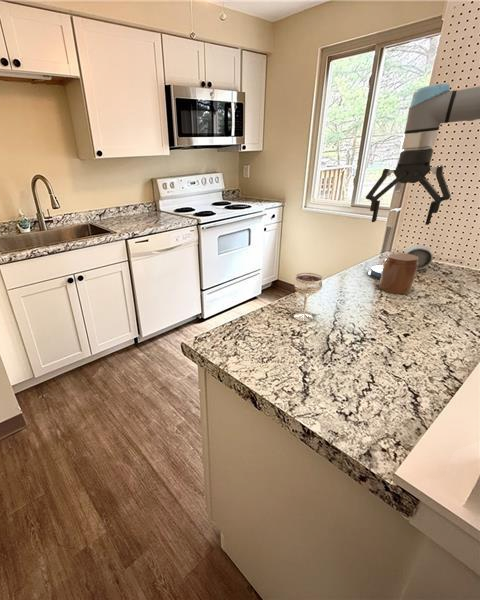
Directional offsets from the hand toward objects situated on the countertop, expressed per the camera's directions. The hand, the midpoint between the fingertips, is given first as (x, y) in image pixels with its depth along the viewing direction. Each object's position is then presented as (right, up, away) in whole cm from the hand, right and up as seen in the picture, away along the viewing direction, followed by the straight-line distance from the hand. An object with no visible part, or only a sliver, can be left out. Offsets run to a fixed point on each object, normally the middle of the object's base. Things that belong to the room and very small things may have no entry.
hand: (399, 222), depth 98 cm
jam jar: (-3, -21, -2) cm, 21 cm away
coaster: (+1, -16, +8) cm, 18 cm away
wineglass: (-37, -30, -12) cm, 49 cm away
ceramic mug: (+14, -13, +13) cm, 23 cm away
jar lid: (+1, -15, +7) cm, 16 cm away
